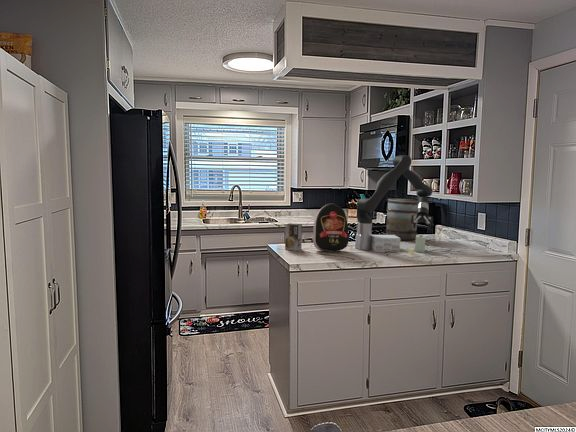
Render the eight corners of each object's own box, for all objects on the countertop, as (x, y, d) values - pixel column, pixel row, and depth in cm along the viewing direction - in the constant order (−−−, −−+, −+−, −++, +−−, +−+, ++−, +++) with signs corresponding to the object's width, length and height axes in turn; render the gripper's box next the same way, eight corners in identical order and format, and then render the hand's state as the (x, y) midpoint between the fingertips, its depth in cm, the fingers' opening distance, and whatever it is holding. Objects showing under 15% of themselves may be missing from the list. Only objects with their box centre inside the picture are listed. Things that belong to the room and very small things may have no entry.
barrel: (401, 235, 343) (404, 198, 340) (422, 240, 323) (425, 200, 320) (379, 236, 333) (382, 198, 330) (399, 241, 313) (402, 201, 310)
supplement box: (393, 248, 287) (394, 234, 286) (399, 252, 274) (400, 238, 273) (368, 247, 286) (369, 234, 285) (374, 251, 273) (374, 237, 272)
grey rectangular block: (424, 252, 272) (425, 236, 271) (414, 251, 274) (415, 235, 273) (424, 250, 281) (425, 234, 280) (415, 249, 283) (416, 233, 281)
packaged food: (316, 254, 258) (318, 204, 255) (309, 247, 278) (311, 202, 274) (351, 254, 262) (353, 205, 258) (342, 248, 281) (344, 202, 278)
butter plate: (409, 257, 258) (409, 251, 257) (397, 253, 269) (397, 247, 268) (425, 256, 262) (425, 250, 262) (412, 252, 273) (413, 246, 273)
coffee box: (301, 249, 272) (302, 224, 270) (297, 250, 266) (298, 225, 264) (288, 247, 276) (289, 222, 274) (284, 249, 270) (285, 224, 268)
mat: (418, 254, 270) (418, 253, 270) (406, 250, 281) (406, 249, 281) (433, 253, 274) (433, 252, 274) (421, 249, 285) (421, 248, 285)
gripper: (412, 206, 294) (410, 224, 285) (433, 207, 290) (432, 226, 281) (411, 212, 300) (410, 231, 290) (433, 214, 296) (432, 232, 286)
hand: (421, 228), depth 286 cm, fingers open, 8 cm apart
